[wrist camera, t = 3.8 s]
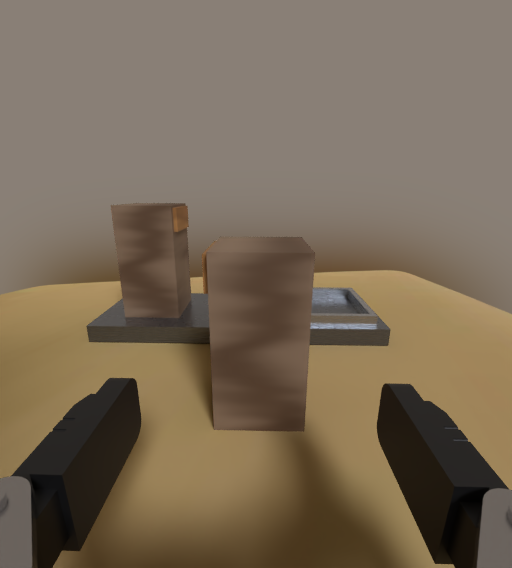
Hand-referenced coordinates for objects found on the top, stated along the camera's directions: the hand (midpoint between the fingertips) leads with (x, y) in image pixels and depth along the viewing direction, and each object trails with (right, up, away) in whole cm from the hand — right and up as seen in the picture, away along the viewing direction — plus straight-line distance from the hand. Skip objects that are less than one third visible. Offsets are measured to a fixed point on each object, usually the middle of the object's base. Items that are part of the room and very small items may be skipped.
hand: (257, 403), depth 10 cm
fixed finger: (-9, +2, +21) cm, 23 cm away
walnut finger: (0, -3, +9) cm, 10 cm away
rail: (-2, 0, +21) cm, 21 cm away
